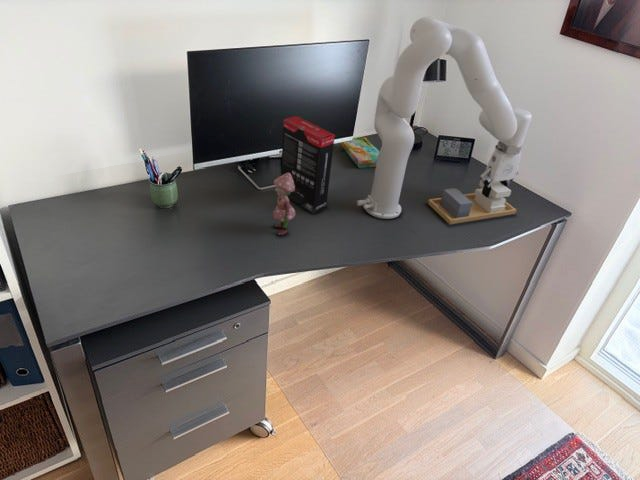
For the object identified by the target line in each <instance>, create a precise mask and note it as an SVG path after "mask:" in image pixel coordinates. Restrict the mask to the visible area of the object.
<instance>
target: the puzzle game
mask: <svg viewBox="0 0 640 480" xmlns="http://www.w3.org/2000/svg"><path fill="white" fill-rule="evenodd" d="M352 138H353V139H352V140H351V141H348V142H344V143H340V145H341V146H342V149H343V151H344V152H345V153H346V154H347V156H348V157H349V158H350V159H351V160H352V162H354V164H355V165H356V167H357V168H358V169H365V168H366V169H367V168H376V163H377V158H378V154H379V152H380V150H379V149H378V148H377V147H376V146H374V144H373V143H371V141H370V140H369V139H367V137H352Z"/></svg>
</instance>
